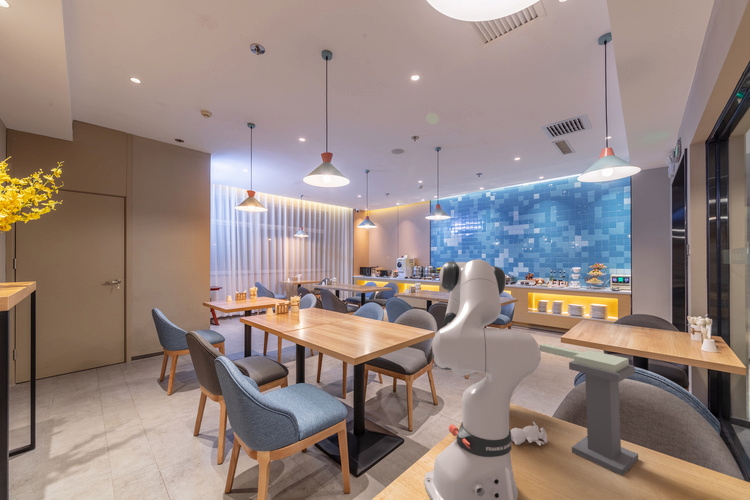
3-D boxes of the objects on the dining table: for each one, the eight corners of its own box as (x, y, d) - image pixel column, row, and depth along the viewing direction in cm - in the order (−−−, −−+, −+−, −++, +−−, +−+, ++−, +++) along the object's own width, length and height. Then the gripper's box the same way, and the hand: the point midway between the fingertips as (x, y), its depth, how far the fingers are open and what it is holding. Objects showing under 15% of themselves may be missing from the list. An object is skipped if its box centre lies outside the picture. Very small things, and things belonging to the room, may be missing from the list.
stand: (622, 475, 79) (618, 374, 80) (571, 452, 89) (569, 362, 90) (638, 459, 85) (634, 365, 86) (589, 438, 95) (586, 355, 96)
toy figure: (529, 429, 101) (499, 435, 98) (529, 415, 102) (499, 420, 98) (556, 448, 91) (524, 455, 88) (556, 432, 91) (523, 438, 88)
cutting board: (615, 372, 81) (614, 365, 81) (534, 352, 99) (534, 346, 100) (628, 365, 87) (628, 358, 87) (549, 347, 105) (549, 342, 105)
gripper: (461, 353, 118) (487, 342, 108) (493, 345, 129) (519, 334, 119) (468, 370, 115) (495, 360, 105) (500, 360, 126) (528, 350, 116)
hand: (508, 346), depth 112 cm, fingers open, 8 cm apart
